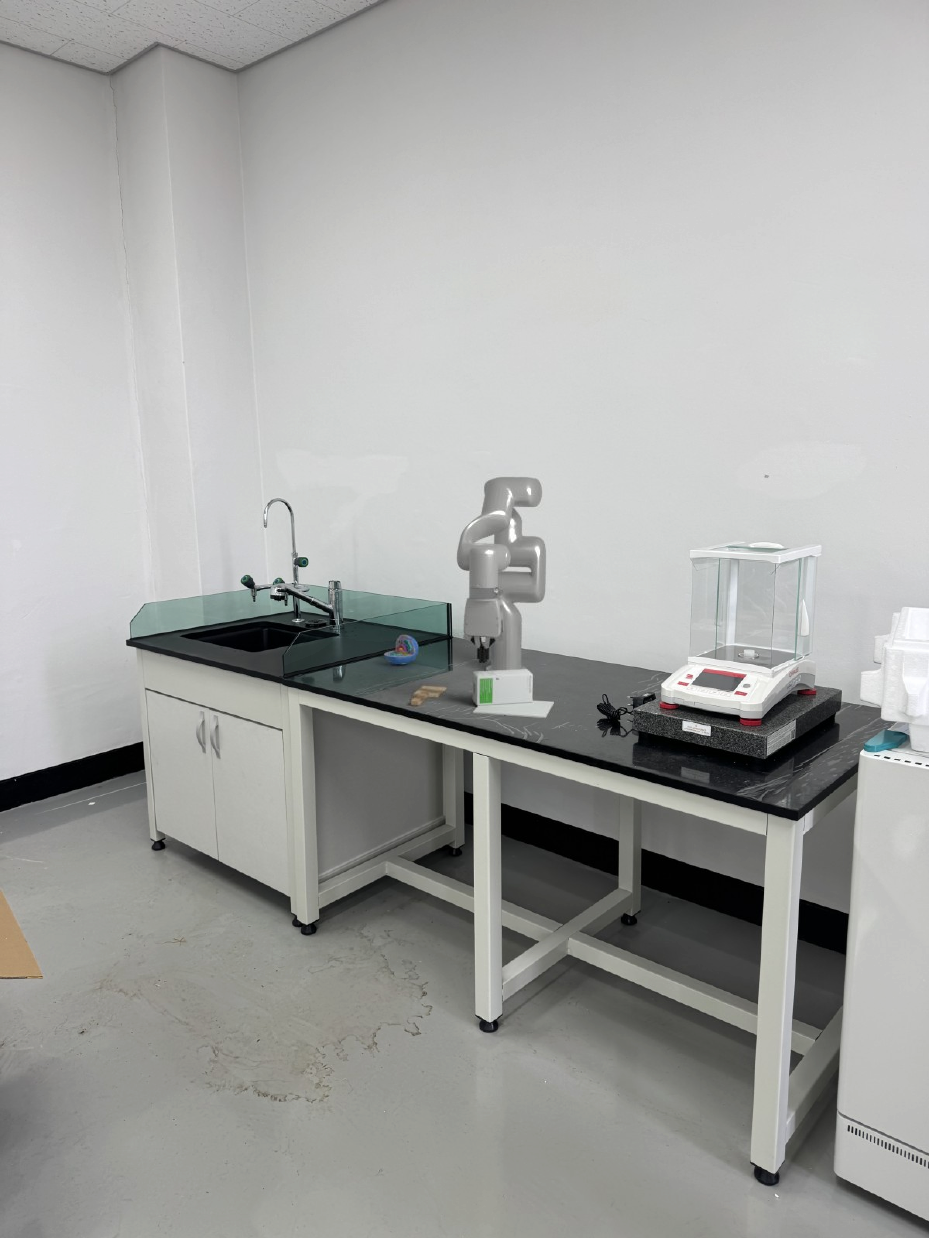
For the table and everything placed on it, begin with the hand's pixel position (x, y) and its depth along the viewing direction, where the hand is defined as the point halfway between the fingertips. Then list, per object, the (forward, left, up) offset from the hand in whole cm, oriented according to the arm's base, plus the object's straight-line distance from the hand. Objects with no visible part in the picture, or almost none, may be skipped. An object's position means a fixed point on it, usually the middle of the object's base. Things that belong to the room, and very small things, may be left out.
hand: (483, 661), depth 231 cm
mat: (0, +9, -12) cm, 15 cm away
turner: (-6, -18, -12) cm, 23 cm away
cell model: (-43, -37, -12) cm, 58 cm away
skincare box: (-1, -3, -8) cm, 8 cm away
